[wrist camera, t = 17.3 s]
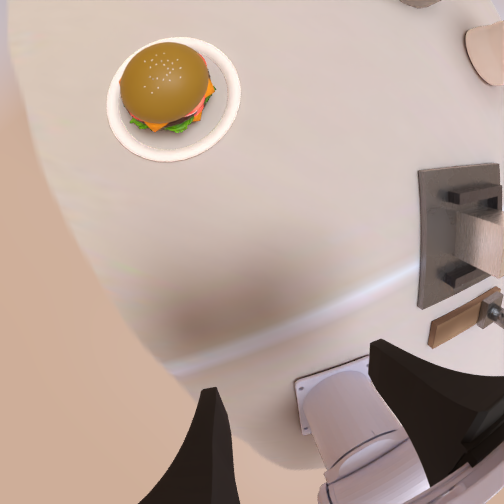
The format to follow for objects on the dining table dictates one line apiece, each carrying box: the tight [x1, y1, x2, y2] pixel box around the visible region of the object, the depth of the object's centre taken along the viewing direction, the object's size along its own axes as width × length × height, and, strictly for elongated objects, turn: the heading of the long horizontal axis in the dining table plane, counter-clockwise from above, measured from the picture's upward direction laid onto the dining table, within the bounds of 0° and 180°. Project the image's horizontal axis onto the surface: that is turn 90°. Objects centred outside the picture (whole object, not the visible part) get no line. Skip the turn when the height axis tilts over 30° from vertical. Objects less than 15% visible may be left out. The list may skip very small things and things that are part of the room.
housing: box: [455, 205, 504, 279], centre depth 19 cm, size 4×4×7 cm
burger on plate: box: [106, 37, 241, 162], centre depth 14 cm, size 12×12×6 cm
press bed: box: [418, 163, 502, 310], centre depth 22 cm, size 13×13×2 cm
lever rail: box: [428, 287, 501, 349], centre depth 26 cm, size 3×13×1 cm, turn 101°
